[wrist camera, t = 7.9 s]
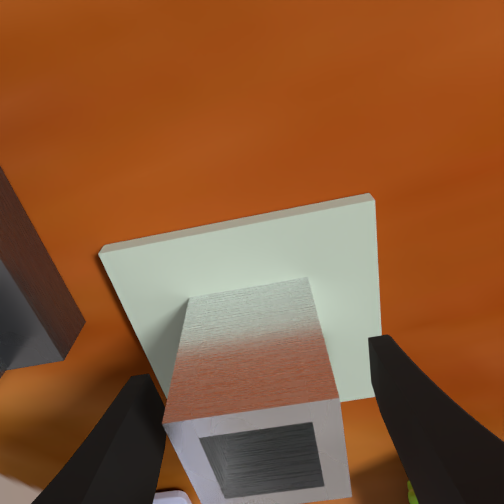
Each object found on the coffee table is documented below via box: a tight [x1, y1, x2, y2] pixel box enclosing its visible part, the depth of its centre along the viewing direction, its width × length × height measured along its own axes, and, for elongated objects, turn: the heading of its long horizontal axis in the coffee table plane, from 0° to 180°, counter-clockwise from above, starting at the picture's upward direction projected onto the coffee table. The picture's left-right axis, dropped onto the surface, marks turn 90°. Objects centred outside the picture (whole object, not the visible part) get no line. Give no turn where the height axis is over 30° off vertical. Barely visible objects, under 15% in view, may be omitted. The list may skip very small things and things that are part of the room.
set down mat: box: [98, 193, 382, 402], centre depth 14 cm, size 9×9×1 cm
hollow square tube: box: [162, 277, 352, 504], centre depth 12 cm, size 6×4×5 cm
